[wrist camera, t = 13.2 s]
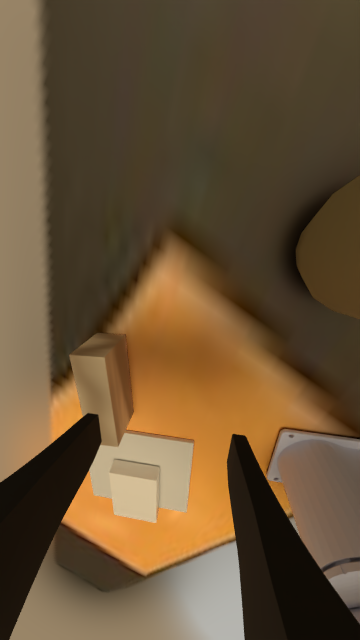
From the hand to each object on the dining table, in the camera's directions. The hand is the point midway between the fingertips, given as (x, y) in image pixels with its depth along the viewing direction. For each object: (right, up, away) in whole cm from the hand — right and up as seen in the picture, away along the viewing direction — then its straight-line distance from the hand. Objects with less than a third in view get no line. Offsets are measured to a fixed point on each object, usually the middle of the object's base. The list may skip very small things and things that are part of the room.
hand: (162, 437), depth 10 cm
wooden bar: (-6, 0, +11) cm, 13 cm away
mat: (-5, -14, +16) cm, 22 cm away
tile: (-5, -13, +14) cm, 19 cm away
